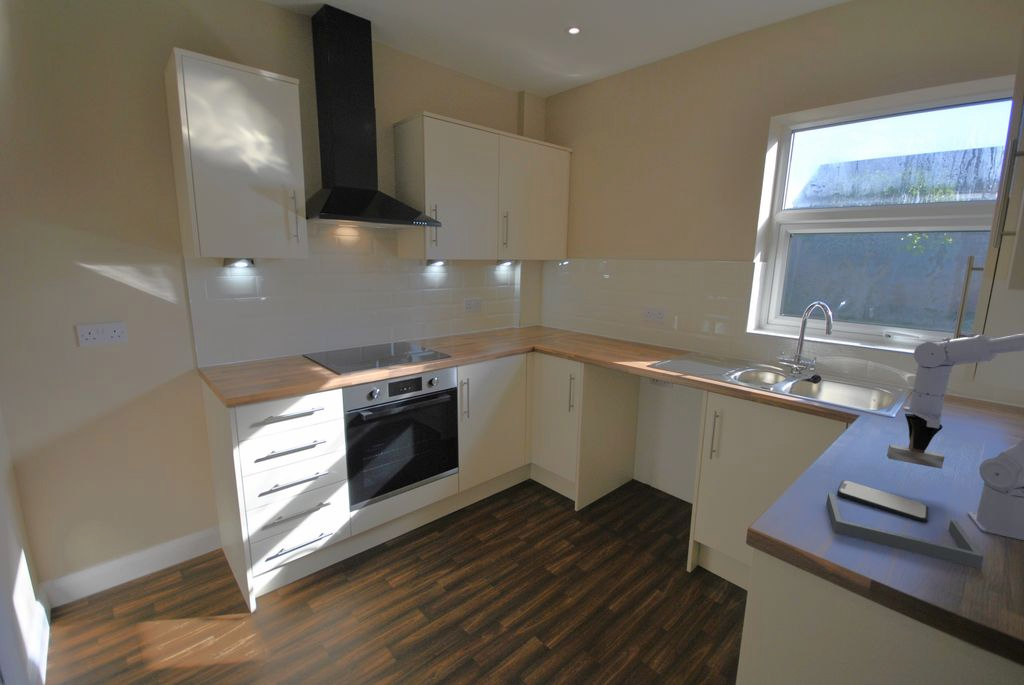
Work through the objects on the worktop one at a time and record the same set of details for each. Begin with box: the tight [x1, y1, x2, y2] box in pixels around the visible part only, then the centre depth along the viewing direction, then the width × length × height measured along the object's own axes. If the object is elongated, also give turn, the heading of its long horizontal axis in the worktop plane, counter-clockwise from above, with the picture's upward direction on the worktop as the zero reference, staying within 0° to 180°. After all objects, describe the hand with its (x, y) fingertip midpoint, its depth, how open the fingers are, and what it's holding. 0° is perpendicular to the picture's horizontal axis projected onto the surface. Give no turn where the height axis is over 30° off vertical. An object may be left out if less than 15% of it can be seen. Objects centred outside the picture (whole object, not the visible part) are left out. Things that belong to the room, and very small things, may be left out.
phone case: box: [836, 479, 929, 524], centre depth 107 cm, size 9×2×16 cm
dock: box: [826, 492, 984, 570], centre depth 95 cm, size 22×13×2 cm, turn 62°
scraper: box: [886, 429, 945, 470], centre depth 112 cm, size 10×2×9 cm, turn 62°
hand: (917, 446), depth 112 cm, fingers closed on scraper, 2 cm apart
